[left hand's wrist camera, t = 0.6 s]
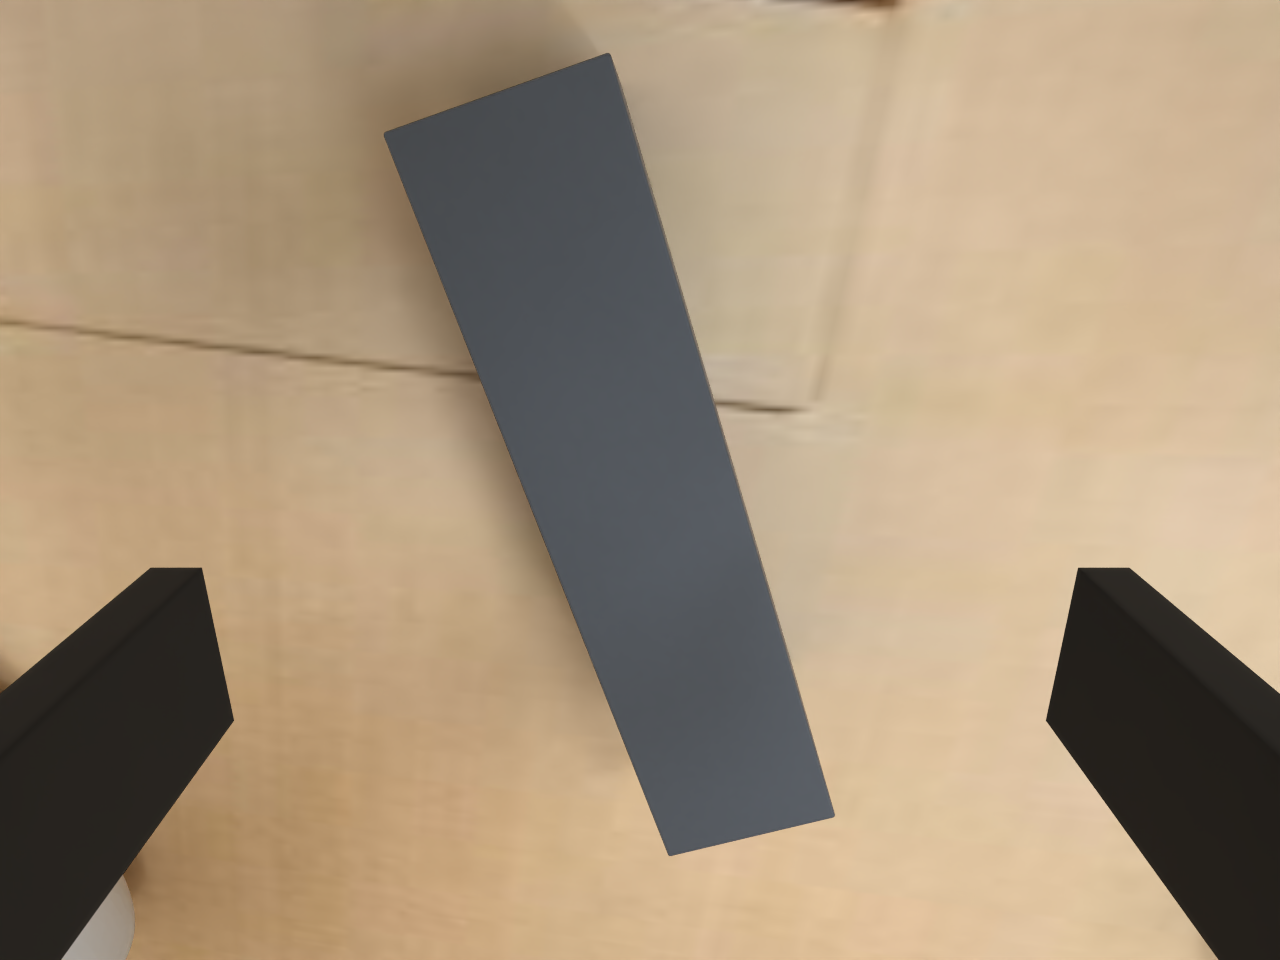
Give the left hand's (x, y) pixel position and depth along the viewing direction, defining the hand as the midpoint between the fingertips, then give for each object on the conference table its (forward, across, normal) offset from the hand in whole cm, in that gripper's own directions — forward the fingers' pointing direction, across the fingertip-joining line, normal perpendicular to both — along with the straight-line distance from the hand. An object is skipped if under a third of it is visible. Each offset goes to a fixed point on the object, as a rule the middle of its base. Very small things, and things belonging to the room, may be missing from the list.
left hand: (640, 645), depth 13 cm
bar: (+19, 0, -3) cm, 19 cm away
